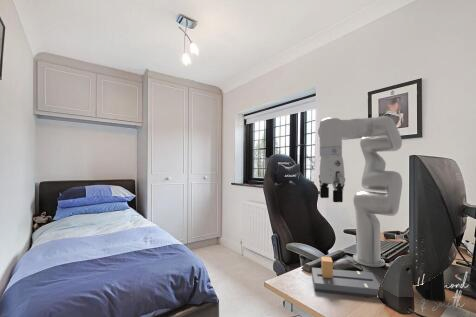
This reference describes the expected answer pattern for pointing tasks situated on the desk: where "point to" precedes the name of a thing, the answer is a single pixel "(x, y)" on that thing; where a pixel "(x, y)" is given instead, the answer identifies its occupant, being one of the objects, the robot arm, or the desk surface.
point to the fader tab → (327, 267)
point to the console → (346, 283)
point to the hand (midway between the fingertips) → (330, 199)
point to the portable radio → (433, 288)
